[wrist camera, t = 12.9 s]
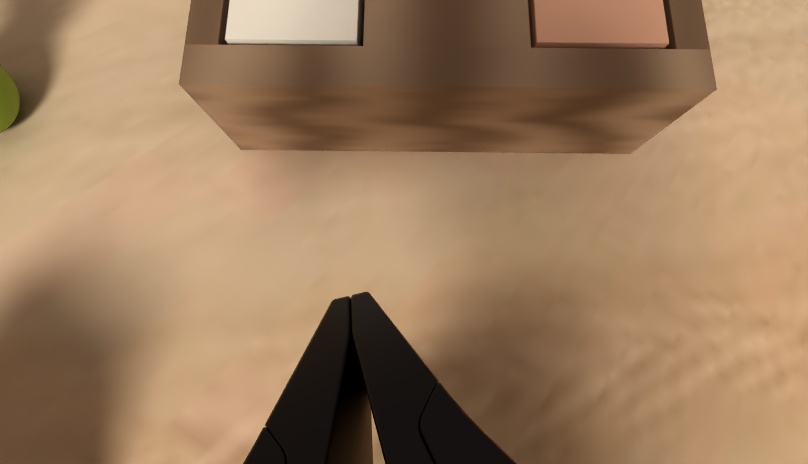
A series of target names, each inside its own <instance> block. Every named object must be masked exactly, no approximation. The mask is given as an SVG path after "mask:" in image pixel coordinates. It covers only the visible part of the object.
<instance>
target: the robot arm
mask: <svg viewBox="0 0 808 464" xmlns="http://www.w3.org/2000/svg"><path fill="white" fill-rule="evenodd" d="M371 410H372V414H373V418H374V422H375V426H376V429H377V433H378V437H379V441H380V445H381V449H382V453H383V456H384V460H385V464H517V463H516V462H515V461H514V460H512V459H511V458H510V457H509V456H508V455H507V454H506V453H505V452H504V451H503V450H502V449H501V448H500V447H499V446H498V445H497V444H496V443H495V442H494V441H493V440H492V439H491V438H489V437H488V436H487V435H486V434H485V433H484V432H483V431H482V430H481V429H480V428H479V427H478V426H477V425H476V423H475V422H474V421H473V420H472V419H471V418H470V417H469V416H468V415H467V414H466V413H465V412H464V411H463V410H462V408H461V407H460V406H459V405H458V404H457V403H456V401H455V400H454V399H453V398H452V397H451V396H450V394H449V393H448V392H447V391H446V389H445V388H444V387H443V385H442V384H441V383H439V381H438V379H437V378H436V377H435V376H434V374H433V373H432V372H431V371H430V369H429V368H428V367H427V365H426V364H425V363H424V362H423V360H422V359H421V358H420V357H419V355H418V354H417V353H416V351H415V350H414V349H413V348H412V346H411V345H410V344H409V343H408V341H407V340H406V339H405V338H404V336H403V335H402V334H401V332H400V331H399V330H398V329H397V327H396V326H395V325H394V324H393V322H392V321H391V320H390V318H389V317H388V316H387V315H386V313H385V312H384V311H383V310H382V308H381V307H380V306H379V305H378V303H377V302H376V301H375V299H374V298H373V297H372V296H371V294H370V293H369V292H363V293H359V294H355V295H352V297H351V298H350V297H349V296H346V297H342V298H338V299H335V300H333V301H332V302H331V304H330V306H329V307H328V309H327V311H326V313H325V315H324V317H323V319H322V320H321V322H320V324H319V326H318V328H317V330H316V331H315V333H314V335H313V337H312V339H311V341H310V343H309V344H308V346H307V348H306V350H305V352H304V354H303V355H302V357H301V359H300V361H299V363H298V365H297V367H296V368H295V370H294V372H293V374H292V376H291V378H290V379H289V381H288V383H287V385H286V387H285V389H284V391H283V392H282V394H281V396H280V398H279V400H278V402H277V403H276V405H275V407H274V409H273V411H272V413H271V415H270V416H269V418H268V420H267V422H266V424H265V426H266V427H264V428H263V429H262V431H261V433H260V435H259V436H258V438H257V440H256V442H255V444H254V446H253V447H252V449H251V451H250V453H249V454H248V456H247V458H246V460H245V461H244V463H243V464H373V450H372V421H371Z"/></svg>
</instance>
